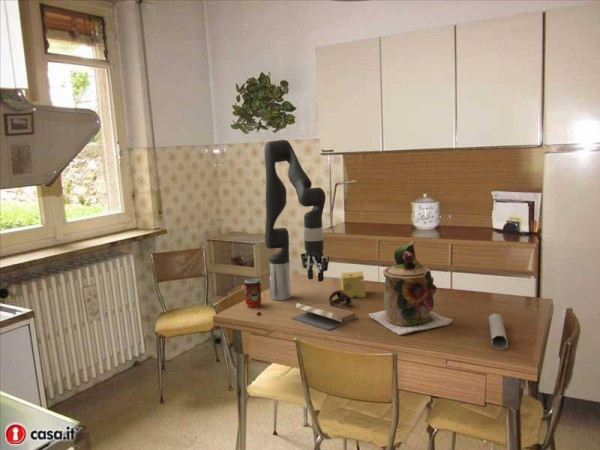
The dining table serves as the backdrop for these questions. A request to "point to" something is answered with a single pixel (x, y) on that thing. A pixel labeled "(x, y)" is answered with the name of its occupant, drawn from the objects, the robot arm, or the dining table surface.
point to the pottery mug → (339, 298)
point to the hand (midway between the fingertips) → (315, 280)
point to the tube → (497, 332)
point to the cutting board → (326, 322)
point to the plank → (319, 312)
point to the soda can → (252, 292)
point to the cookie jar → (408, 295)
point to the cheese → (353, 284)
